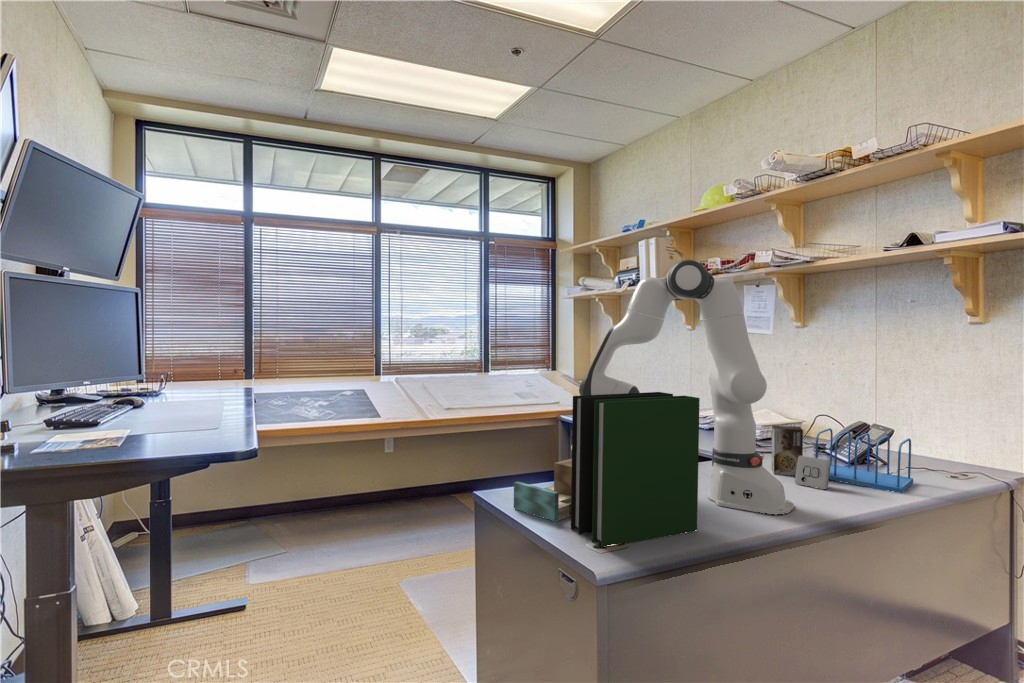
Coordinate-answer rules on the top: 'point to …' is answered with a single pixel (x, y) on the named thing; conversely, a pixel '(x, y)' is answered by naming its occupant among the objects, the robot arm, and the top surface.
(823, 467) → the electrical switch
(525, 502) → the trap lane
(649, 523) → the binders
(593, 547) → the top surface
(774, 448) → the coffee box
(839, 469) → the file sorter
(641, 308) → the robot arm
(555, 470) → the walnut block
